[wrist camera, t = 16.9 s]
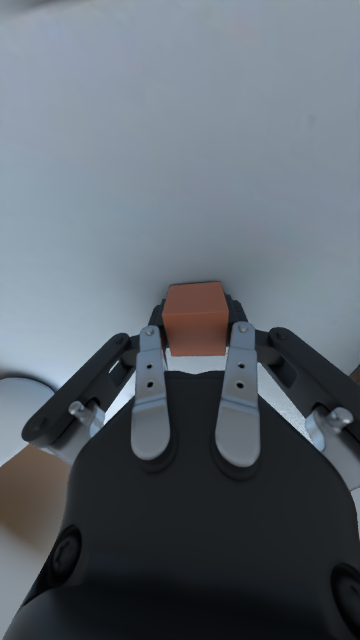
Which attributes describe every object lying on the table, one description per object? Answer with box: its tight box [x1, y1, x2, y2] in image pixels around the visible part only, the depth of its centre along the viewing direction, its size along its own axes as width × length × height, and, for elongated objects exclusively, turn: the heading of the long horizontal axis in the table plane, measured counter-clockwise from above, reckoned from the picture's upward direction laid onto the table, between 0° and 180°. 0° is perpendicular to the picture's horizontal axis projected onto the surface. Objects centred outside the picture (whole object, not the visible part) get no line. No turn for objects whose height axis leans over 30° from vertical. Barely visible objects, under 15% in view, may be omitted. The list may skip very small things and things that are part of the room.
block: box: [162, 282, 229, 356], centre depth 12 cm, size 4×4×4 cm
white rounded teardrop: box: [0, 378, 55, 467], centre depth 22 cm, size 10×10×12 cm
